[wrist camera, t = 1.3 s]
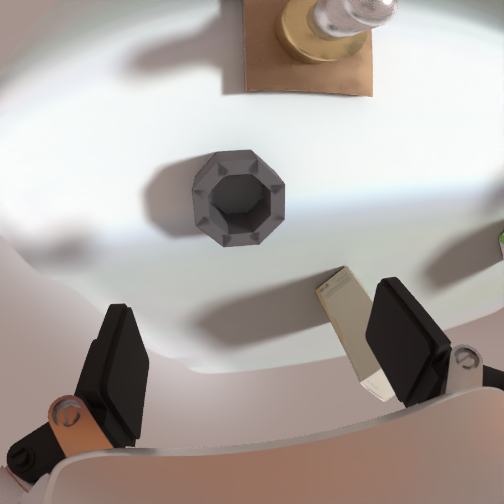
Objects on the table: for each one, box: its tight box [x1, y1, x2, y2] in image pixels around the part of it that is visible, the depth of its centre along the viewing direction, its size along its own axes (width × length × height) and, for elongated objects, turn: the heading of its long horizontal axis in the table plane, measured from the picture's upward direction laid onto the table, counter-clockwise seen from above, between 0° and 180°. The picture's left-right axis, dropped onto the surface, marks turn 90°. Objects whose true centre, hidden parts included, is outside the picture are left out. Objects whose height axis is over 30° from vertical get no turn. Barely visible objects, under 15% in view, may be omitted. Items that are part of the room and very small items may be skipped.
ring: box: [192, 150, 285, 247], centre depth 23 cm, size 6×6×4 cm
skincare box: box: [315, 266, 396, 402], centre depth 26 cm, size 6×4×12 cm
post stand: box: [242, 0, 398, 97], centre depth 14 cm, size 10×10×12 cm
